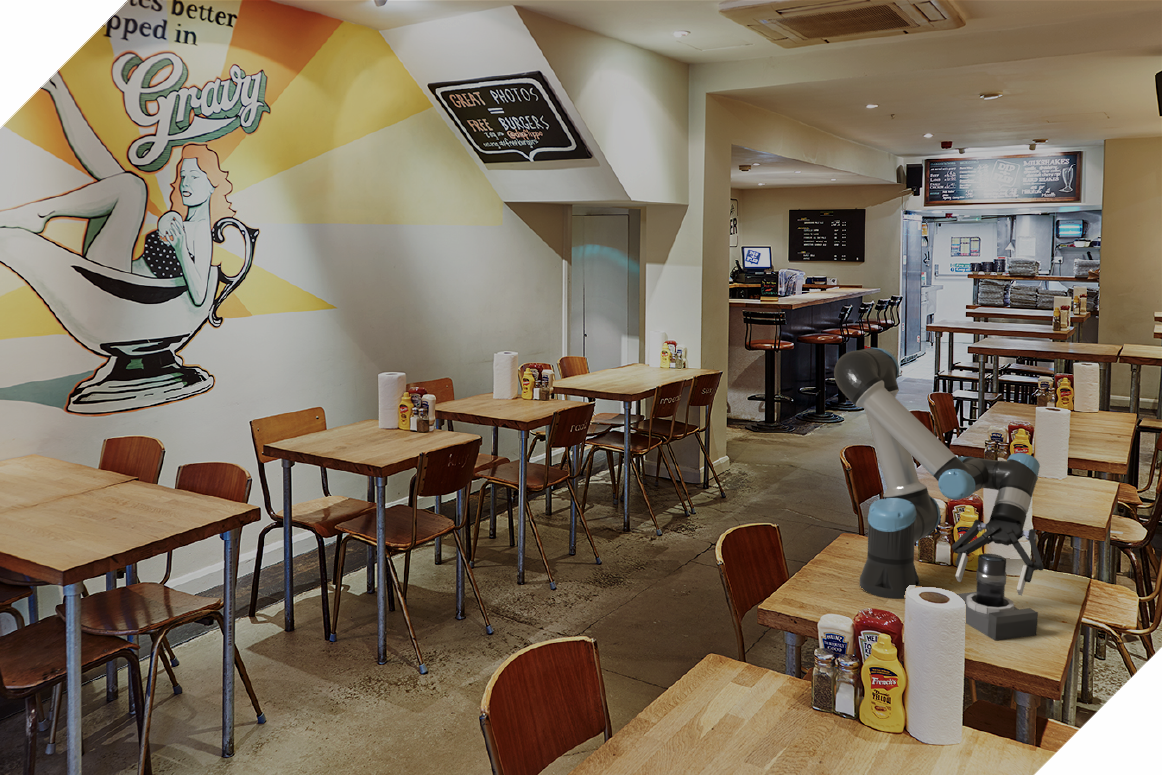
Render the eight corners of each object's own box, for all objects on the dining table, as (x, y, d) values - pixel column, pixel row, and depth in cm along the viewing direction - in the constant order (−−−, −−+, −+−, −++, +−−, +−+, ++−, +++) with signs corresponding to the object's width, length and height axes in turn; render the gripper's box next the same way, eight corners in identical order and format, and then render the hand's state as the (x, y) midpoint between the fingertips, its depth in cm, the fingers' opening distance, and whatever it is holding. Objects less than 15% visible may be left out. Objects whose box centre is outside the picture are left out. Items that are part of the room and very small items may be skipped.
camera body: (944, 610, 212) (945, 589, 211) (983, 606, 214) (984, 584, 213) (995, 640, 194) (996, 617, 194) (1036, 635, 197) (1037, 612, 196)
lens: (968, 602, 206) (971, 553, 204) (991, 600, 208) (994, 551, 206) (987, 612, 200) (989, 562, 198) (1010, 610, 201) (1013, 560, 200)
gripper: (1069, 527, 204) (1048, 606, 195) (960, 509, 221) (937, 581, 212) (1064, 511, 200) (1043, 590, 191) (954, 493, 216) (930, 566, 207)
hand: (987, 585), depth 201 cm, fingers open, 13 cm apart
